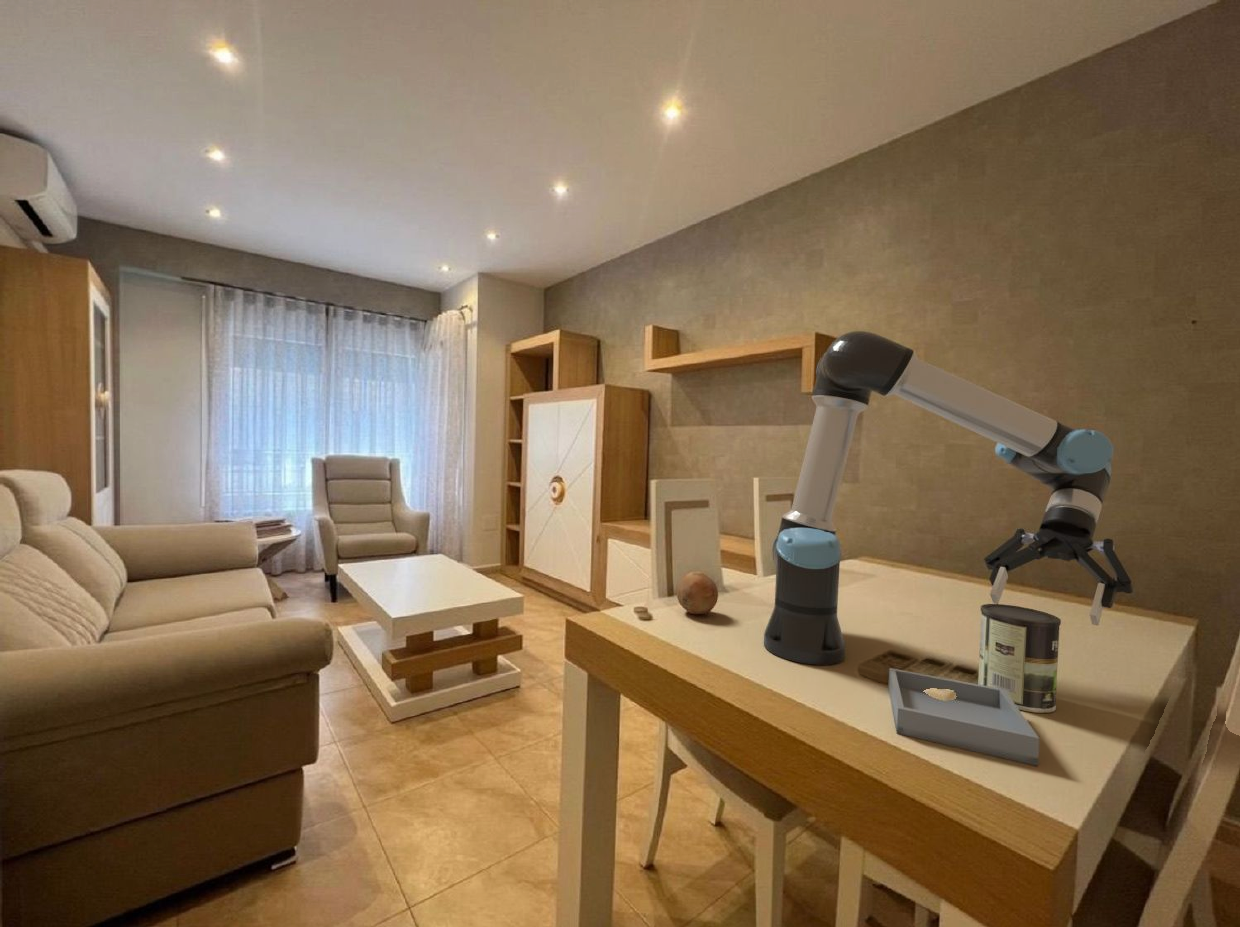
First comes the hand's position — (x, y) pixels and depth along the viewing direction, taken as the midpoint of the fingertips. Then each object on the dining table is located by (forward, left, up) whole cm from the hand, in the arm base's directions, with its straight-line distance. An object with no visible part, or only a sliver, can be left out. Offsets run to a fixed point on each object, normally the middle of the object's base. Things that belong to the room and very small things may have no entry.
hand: (1040, 609), depth 87 cm
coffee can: (-5, -7, -14) cm, 16 cm away
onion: (-63, +9, -14) cm, 65 cm away
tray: (-16, -22, -14) cm, 30 cm away
